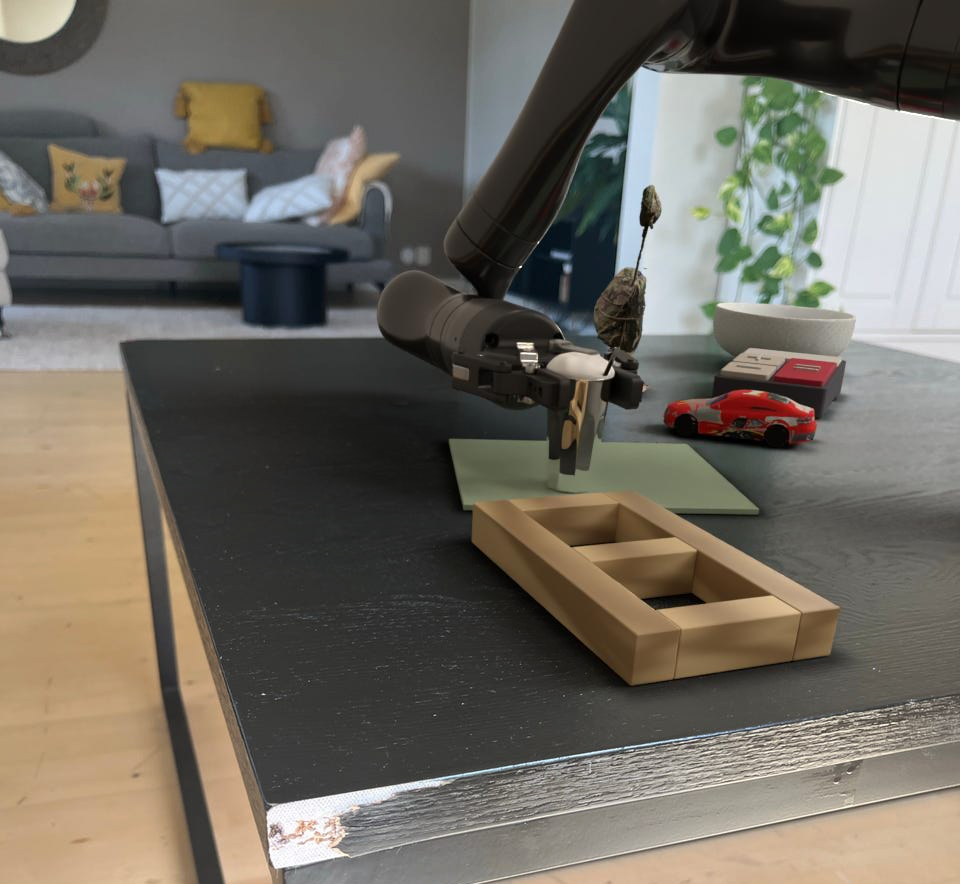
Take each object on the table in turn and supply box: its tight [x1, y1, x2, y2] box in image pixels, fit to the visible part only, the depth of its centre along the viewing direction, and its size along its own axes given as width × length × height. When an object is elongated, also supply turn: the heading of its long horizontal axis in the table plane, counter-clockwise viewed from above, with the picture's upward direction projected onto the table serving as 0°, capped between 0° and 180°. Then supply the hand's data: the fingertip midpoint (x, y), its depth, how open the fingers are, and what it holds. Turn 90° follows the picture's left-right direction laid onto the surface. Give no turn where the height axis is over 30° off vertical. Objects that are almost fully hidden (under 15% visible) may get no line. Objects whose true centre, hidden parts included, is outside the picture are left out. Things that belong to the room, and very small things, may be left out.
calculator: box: [711, 348, 847, 419], centre depth 103 cm, size 11×4×15 cm
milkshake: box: [546, 347, 620, 493], centre depth 67 cm, size 4×5×10 cm
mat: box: [448, 438, 760, 516], centre depth 74 cm, size 20×18×1 cm
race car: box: [662, 390, 818, 448], centre depth 87 cm, size 13×5×4 cm, turn 68°
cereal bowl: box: [712, 302, 857, 358], centre depth 121 cm, size 17×17×7 cm
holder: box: [471, 490, 841, 687], centre depth 52 cm, size 11×19×2 cm, turn 21°
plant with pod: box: [592, 184, 663, 394], centre depth 102 cm, size 8×11×20 cm
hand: (600, 394), depth 64 cm, fingers closed on milkshake, 4 cm apart
